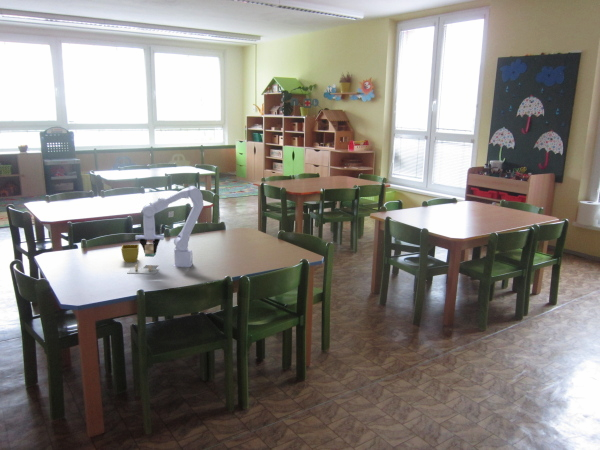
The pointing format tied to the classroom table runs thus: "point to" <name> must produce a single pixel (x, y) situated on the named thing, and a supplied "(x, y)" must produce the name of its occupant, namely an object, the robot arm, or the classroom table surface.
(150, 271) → the pin board
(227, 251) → the classroom table surface
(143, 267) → the pad
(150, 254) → the sleeve
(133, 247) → the flower pot
